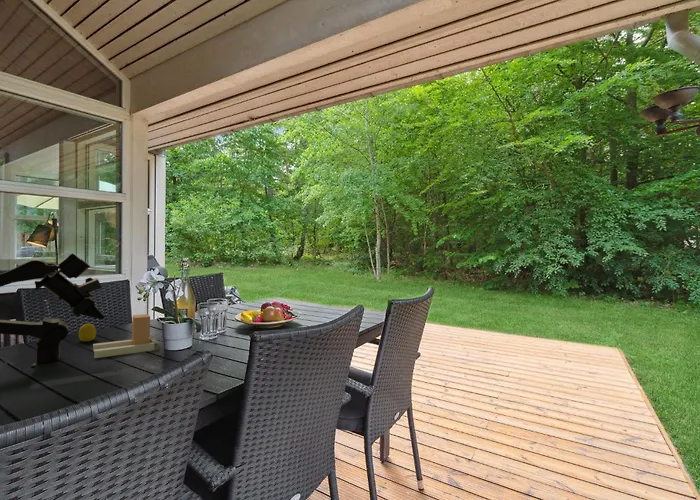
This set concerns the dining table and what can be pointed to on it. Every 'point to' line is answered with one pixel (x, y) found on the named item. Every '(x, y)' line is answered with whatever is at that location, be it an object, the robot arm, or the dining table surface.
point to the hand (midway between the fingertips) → (103, 318)
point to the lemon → (87, 332)
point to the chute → (123, 348)
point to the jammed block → (140, 329)
